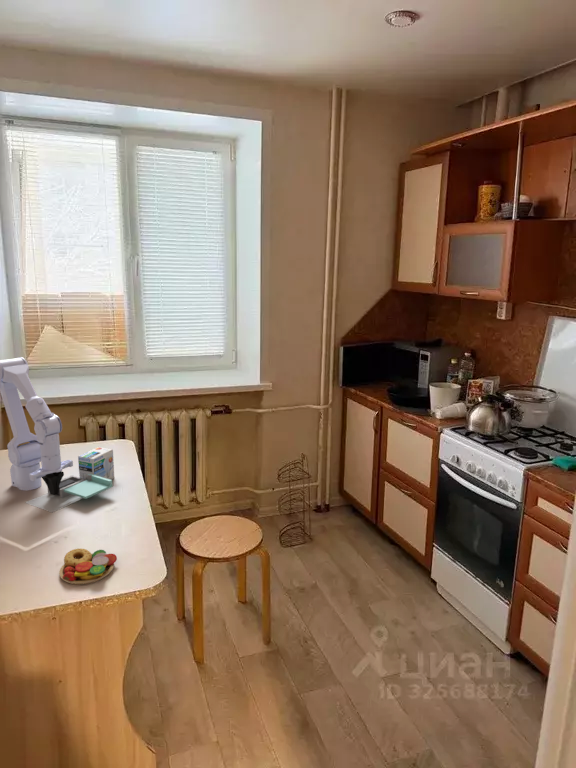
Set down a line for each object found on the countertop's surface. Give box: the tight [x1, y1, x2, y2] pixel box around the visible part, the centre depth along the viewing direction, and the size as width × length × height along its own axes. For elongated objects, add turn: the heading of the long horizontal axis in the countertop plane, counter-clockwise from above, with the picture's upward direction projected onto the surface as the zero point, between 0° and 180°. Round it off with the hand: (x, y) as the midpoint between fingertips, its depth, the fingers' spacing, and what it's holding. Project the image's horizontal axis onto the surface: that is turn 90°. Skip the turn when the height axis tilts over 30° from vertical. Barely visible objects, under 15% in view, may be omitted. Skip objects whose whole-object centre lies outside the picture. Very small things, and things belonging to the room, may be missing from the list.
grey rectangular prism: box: [56, 479, 75, 496], centre depth 177 cm, size 3×6×3 cm, turn 150°
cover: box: [64, 474, 114, 500], centre depth 172 cm, size 11×10×2 cm
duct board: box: [24, 475, 85, 513], centre depth 174 cm, size 13×18×4 cm
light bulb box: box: [77, 446, 115, 480], centre depth 187 cm, size 11×7×11 cm, turn 160°
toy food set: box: [58, 548, 118, 586], centre depth 135 cm, size 13×13×3 cm
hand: (54, 493), depth 174 cm, fingers closed
